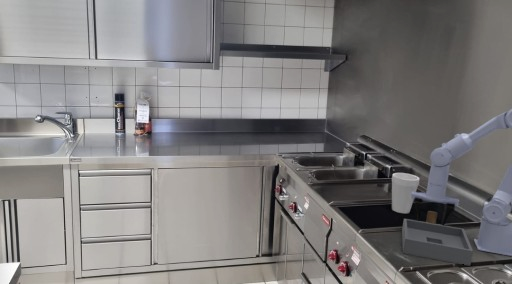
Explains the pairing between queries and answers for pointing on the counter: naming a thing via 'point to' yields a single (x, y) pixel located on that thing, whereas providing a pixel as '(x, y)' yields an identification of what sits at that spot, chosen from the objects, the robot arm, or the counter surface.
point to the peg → (431, 217)
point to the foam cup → (403, 191)
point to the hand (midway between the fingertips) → (430, 222)
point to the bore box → (436, 242)
